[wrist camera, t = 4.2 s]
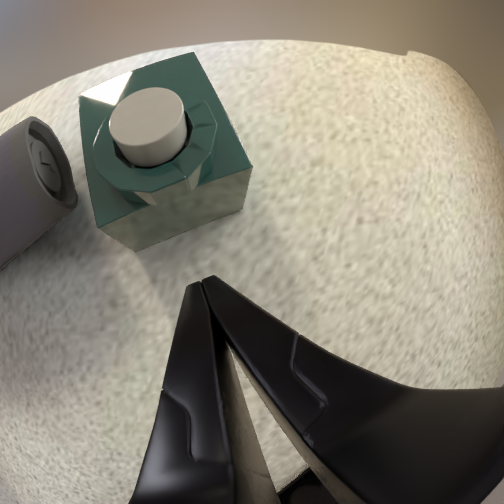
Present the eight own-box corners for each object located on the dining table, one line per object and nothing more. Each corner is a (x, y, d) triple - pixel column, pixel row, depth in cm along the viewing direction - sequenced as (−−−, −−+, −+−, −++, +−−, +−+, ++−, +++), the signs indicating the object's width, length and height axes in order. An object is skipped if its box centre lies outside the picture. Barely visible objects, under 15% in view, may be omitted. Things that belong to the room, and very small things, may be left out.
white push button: (196, 151, 13) (193, 127, 11) (128, 178, 12) (114, 158, 10) (177, 102, 13) (172, 78, 11) (116, 126, 13) (104, 104, 11)
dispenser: (244, 212, 21) (259, 153, 13) (136, 255, 20) (83, 223, 11) (197, 108, 23) (192, 33, 14) (107, 142, 21) (69, 79, 12)
